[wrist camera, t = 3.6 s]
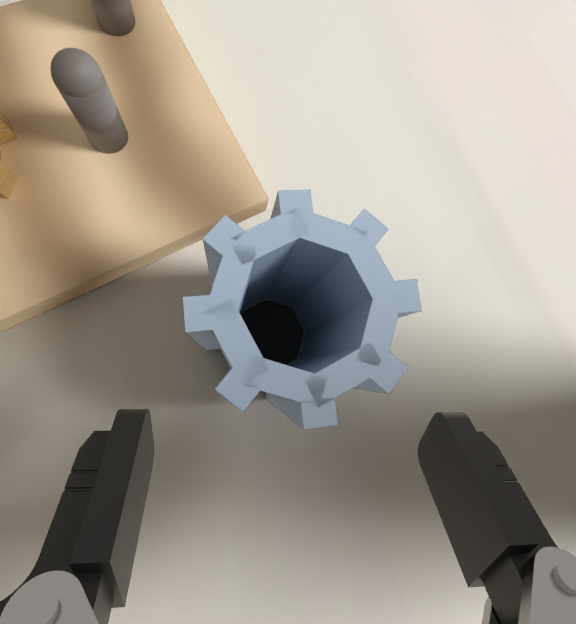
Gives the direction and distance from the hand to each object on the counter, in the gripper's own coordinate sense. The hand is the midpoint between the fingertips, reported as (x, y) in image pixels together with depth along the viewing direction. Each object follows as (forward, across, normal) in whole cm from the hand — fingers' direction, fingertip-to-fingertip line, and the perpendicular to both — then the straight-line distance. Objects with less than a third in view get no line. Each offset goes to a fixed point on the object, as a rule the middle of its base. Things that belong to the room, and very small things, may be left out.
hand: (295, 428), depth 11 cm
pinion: (+9, 0, +4) cm, 9 cm away
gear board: (+14, +12, -2) cm, 19 cm away
